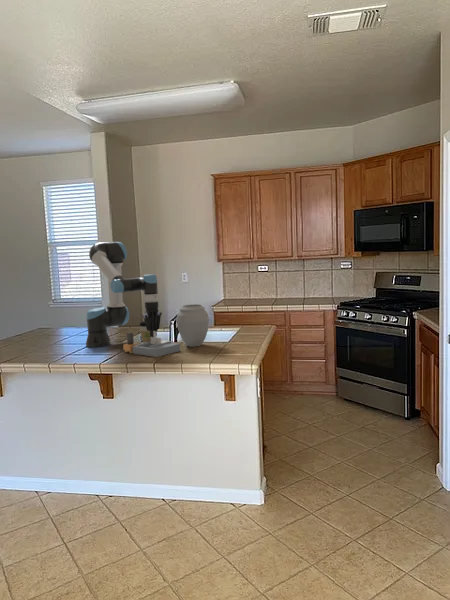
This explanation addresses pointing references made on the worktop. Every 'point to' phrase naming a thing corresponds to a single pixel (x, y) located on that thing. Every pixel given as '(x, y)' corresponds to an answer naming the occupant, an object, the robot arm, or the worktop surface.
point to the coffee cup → (144, 332)
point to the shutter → (158, 341)
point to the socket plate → (156, 348)
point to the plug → (129, 343)
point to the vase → (193, 324)
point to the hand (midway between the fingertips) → (153, 342)
